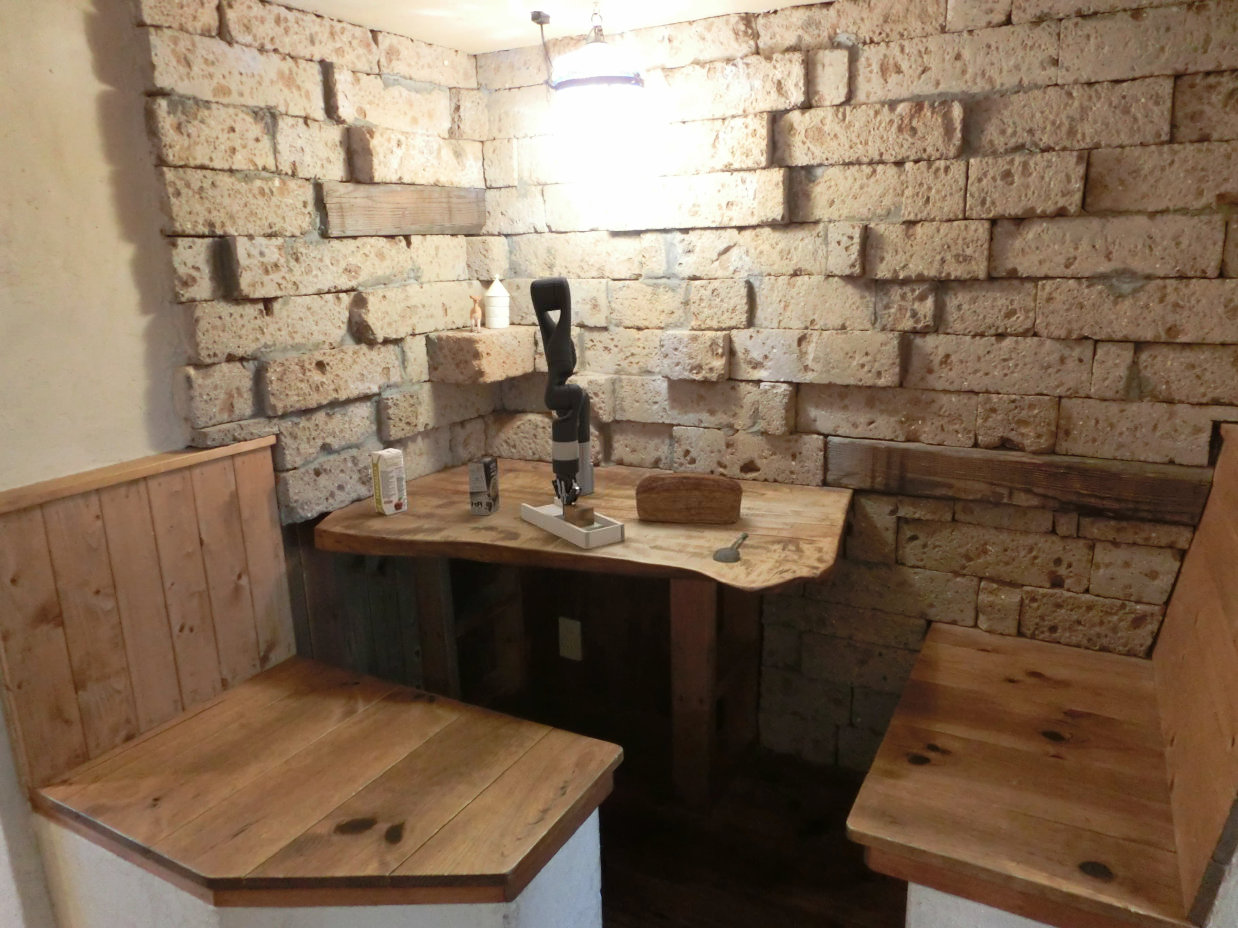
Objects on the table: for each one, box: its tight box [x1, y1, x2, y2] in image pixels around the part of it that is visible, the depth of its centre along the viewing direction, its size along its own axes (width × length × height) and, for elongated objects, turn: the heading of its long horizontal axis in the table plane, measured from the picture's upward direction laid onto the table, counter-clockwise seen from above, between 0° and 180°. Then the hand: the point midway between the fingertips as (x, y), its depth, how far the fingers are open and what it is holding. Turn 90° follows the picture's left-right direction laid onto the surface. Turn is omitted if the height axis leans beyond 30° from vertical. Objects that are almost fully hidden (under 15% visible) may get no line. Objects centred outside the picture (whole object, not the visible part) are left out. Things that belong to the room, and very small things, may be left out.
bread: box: [635, 471, 744, 525], centre depth 245 cm, size 12×31×14 cm, turn 80°
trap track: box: [520, 496, 626, 550], centre depth 239 cm, size 12×35×4 cm, turn 35°
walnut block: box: [564, 501, 595, 528], centre depth 235 cm, size 6×6×5 cm
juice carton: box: [370, 447, 408, 516], centre depth 258 cm, size 8×9×19 cm
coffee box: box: [467, 456, 501, 516], centre depth 257 cm, size 9×6×16 cm
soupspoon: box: [712, 531, 749, 564], centre depth 220 cm, size 22×3×7 cm
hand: (567, 515), depth 240 cm, fingers closed
